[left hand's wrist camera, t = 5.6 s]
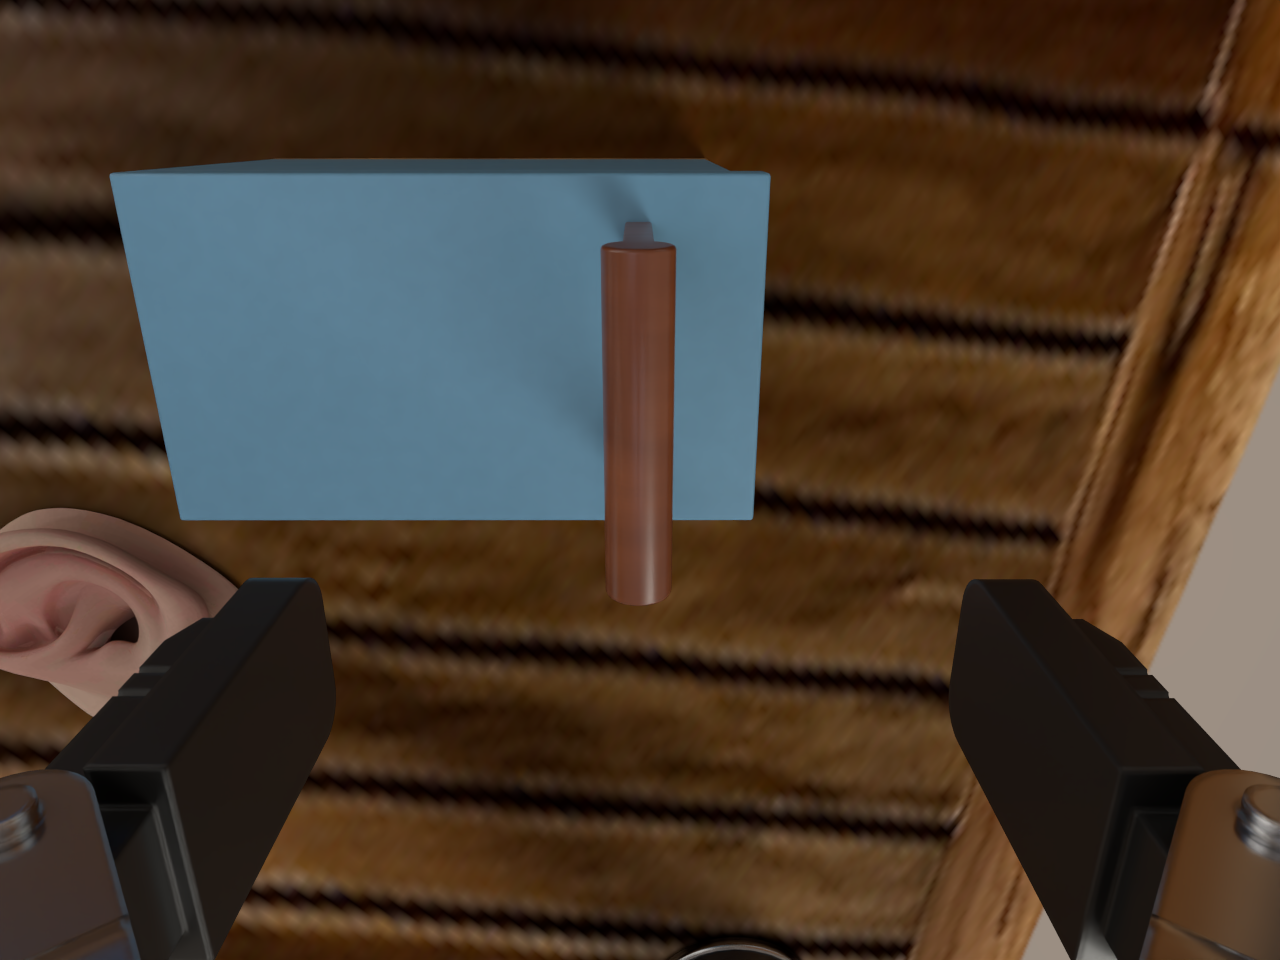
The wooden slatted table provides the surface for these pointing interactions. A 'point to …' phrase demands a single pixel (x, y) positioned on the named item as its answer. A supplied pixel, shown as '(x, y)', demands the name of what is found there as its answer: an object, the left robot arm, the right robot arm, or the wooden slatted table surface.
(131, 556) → the anatomical model
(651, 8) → the wooden slatted table surface
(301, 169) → the chest
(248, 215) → the lid
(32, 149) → the wooden slatted table surface
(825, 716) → the wooden slatted table surface
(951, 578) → the wooden slatted table surface
